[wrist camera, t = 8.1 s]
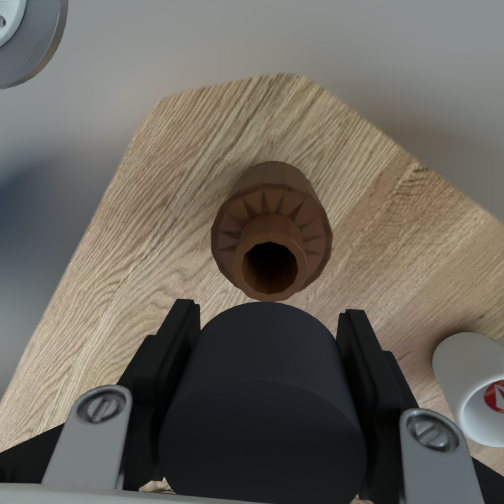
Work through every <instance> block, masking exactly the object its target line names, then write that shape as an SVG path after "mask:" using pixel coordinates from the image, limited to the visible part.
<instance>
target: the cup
mask: <svg viewBox="0 0 504 504" xmlns="http://www.w3.org/2000/svg"><path fill="white" fill-rule="evenodd" d="M432 366H433V371H434V374H435V376H436V379H437V381H438V383H439V386H440V388H441V390H442V392H443V394H444V397H445V399H446V401H447V403H448V405H449V408H450V410H451V412H452V414H453V416H454V419H455V421H456V423H457V425H458V427H459V428H460V430H461V431H462V432H463V433H464V434H465V435H466V436H467V437H468V438H470V439H471V440H473V441H475V442H477V443H479V444H482V445H486V446H492V447H504V335H503V336H502V337H501V338H499V339H497V340H493V339H491V338H489V337H487V336H485V335H482V334H479V333H474V332H463V333H458V334H454V335H452V336H450V337H448V338H446V339H445V340H443V341H442V342H441V343H440V344H439V345H438V347H437V348H436V350H435V352H434V354H433V358H432Z"/></svg>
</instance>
